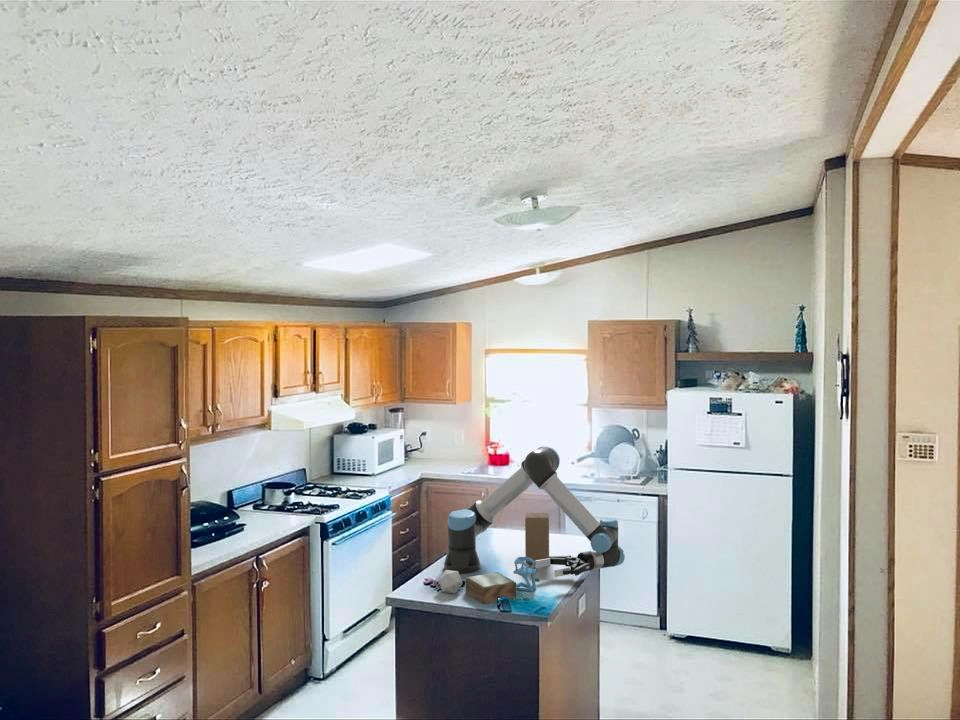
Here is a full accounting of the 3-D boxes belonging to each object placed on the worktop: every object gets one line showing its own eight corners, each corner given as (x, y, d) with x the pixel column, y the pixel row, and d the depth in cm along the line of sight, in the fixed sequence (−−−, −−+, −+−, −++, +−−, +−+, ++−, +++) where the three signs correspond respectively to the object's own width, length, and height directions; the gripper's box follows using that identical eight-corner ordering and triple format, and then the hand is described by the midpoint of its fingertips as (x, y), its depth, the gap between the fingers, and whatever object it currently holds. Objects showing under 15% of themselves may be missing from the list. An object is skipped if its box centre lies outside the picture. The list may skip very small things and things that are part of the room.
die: (447, 598, 286) (462, 577, 286) (430, 584, 289) (445, 563, 290) (455, 599, 293) (469, 579, 294) (438, 585, 297) (453, 565, 298)
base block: (483, 603, 278) (483, 587, 277) (465, 592, 290) (465, 577, 290) (516, 597, 284) (516, 581, 284) (497, 586, 297) (497, 571, 296)
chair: (529, 593, 289) (529, 561, 288) (510, 589, 293) (510, 558, 293) (539, 587, 295) (539, 556, 295) (520, 584, 300) (520, 553, 299)
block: (549, 558, 335) (548, 512, 334) (549, 564, 325) (548, 518, 324) (526, 557, 336) (526, 512, 335) (525, 564, 326) (525, 517, 325)
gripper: (608, 578, 297) (563, 587, 287) (571, 562, 319) (528, 569, 309) (608, 559, 297) (563, 567, 287) (571, 544, 319) (528, 551, 309)
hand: (545, 568), depth 298 cm, fingers open, 13 cm apart
